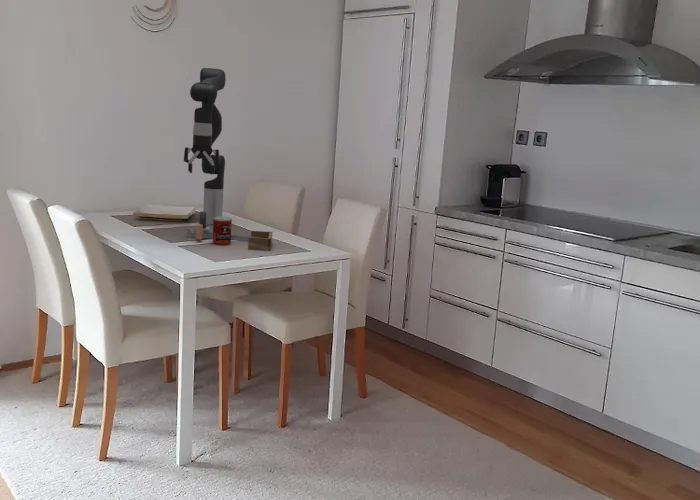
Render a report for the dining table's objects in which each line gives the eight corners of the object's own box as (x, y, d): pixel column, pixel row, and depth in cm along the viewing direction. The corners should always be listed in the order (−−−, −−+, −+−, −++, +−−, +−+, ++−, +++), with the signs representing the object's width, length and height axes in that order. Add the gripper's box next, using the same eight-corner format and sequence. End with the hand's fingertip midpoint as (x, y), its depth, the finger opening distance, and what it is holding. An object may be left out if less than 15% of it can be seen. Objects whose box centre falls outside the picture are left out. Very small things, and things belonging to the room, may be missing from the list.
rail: (187, 235, 293) (187, 227, 292) (256, 240, 295) (256, 232, 295) (186, 237, 290) (186, 229, 289) (255, 241, 293) (256, 233, 292)
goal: (250, 241, 291) (251, 230, 290) (271, 243, 292) (272, 231, 291) (248, 249, 277) (248, 237, 276) (270, 250, 277) (270, 239, 276)
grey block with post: (196, 234, 294) (196, 210, 292) (209, 235, 295) (210, 211, 292) (191, 240, 282) (192, 215, 279) (205, 241, 282) (206, 216, 280)
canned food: (215, 245, 279) (216, 219, 276) (210, 241, 286) (211, 216, 283) (233, 245, 282) (234, 219, 280) (227, 241, 289) (228, 216, 287)
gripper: (221, 135, 277) (219, 173, 280) (186, 132, 275) (185, 171, 279) (219, 136, 269) (217, 175, 273) (183, 133, 268) (182, 173, 272)
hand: (201, 173), depth 276 cm, fingers open, 8 cm apart
